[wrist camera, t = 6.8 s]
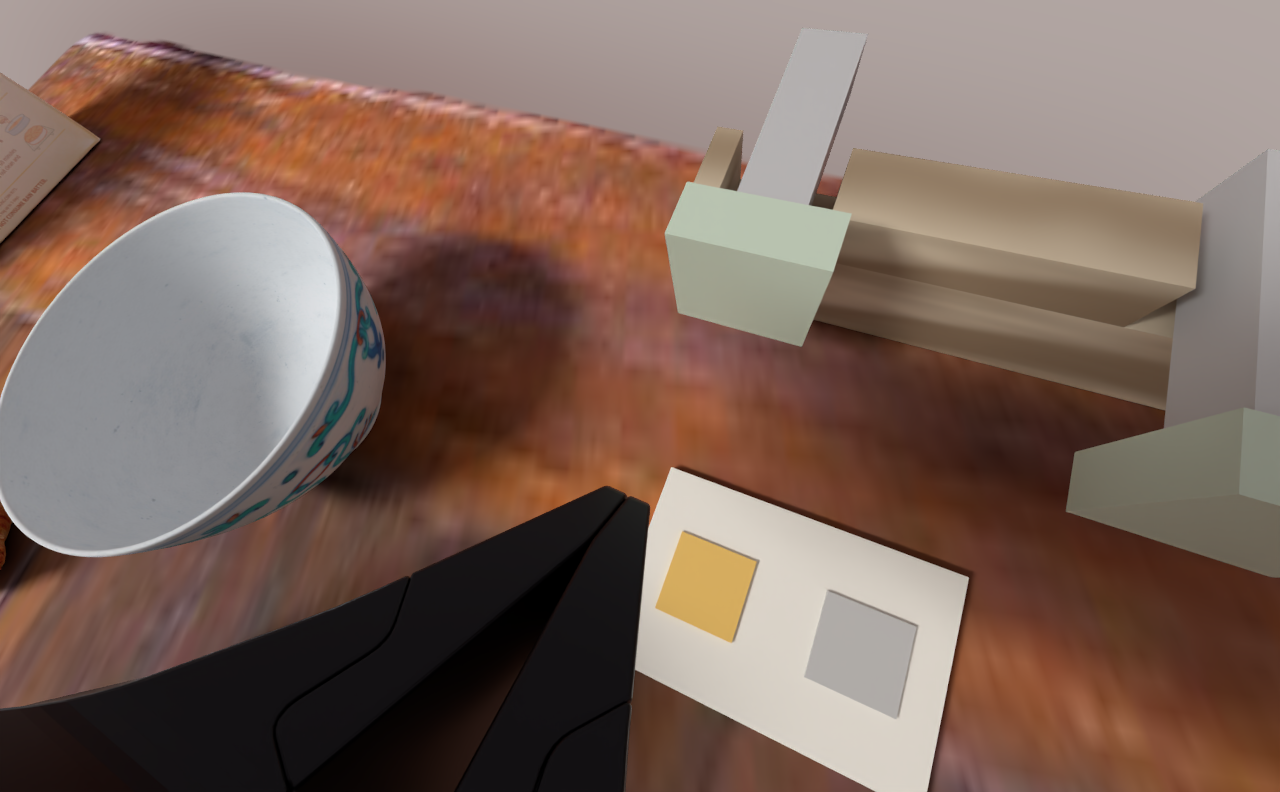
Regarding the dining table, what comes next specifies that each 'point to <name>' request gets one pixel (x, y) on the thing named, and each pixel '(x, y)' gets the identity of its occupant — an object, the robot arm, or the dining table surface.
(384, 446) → the dining table surface
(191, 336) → the chinaware
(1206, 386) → the button
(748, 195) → the button
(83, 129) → the coffeecake box
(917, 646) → the card
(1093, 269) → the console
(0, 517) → the croissant
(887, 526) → the dining table surface
